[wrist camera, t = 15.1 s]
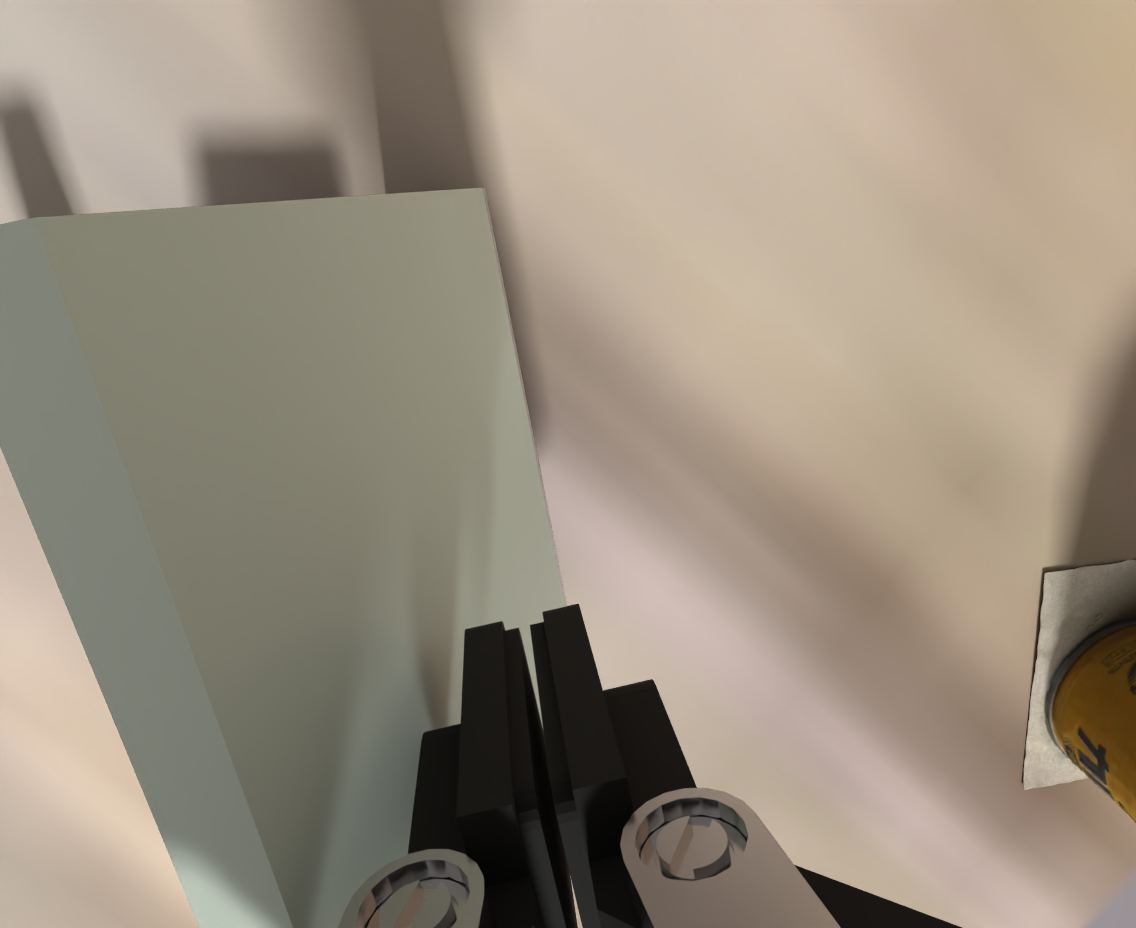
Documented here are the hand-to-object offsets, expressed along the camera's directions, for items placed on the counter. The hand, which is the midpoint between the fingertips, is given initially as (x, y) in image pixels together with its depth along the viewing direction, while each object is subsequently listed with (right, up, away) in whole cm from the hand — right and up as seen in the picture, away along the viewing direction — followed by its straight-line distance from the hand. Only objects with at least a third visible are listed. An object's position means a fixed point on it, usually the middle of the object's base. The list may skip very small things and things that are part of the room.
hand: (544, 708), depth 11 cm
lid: (-2, +1, +1) cm, 3 cm away
